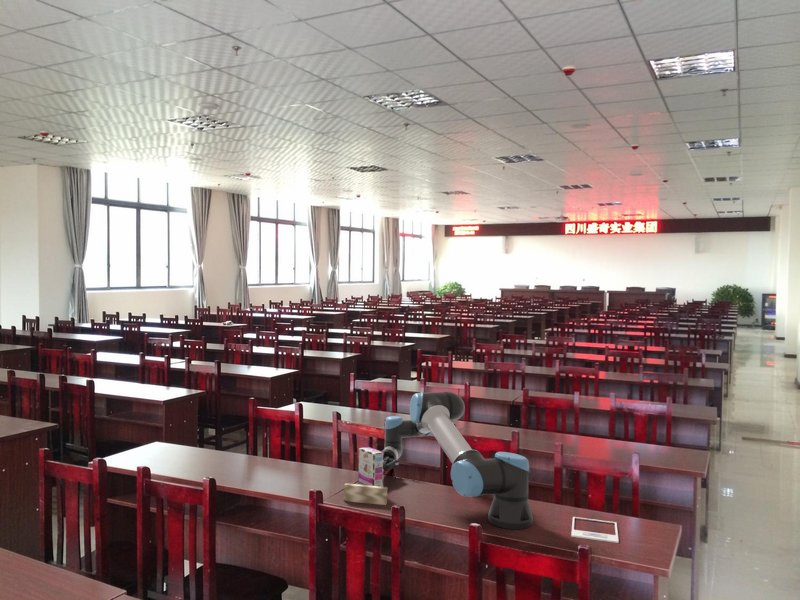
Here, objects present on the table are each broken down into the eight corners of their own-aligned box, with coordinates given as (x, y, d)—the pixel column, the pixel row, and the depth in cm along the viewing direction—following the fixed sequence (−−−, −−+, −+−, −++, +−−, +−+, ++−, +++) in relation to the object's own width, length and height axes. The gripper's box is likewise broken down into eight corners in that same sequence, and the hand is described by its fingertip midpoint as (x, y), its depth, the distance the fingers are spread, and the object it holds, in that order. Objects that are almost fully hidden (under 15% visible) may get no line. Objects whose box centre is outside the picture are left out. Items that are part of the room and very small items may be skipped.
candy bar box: (384, 494, 243) (384, 452, 242) (373, 497, 240) (373, 454, 239) (368, 486, 252) (368, 446, 251) (357, 489, 249) (358, 447, 248)
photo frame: (571, 534, 206) (572, 516, 223) (571, 537, 206) (572, 519, 223) (618, 541, 202) (616, 521, 219) (618, 544, 202) (616, 524, 219)
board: (386, 503, 233) (387, 487, 233) (385, 505, 231) (386, 488, 231) (345, 499, 236) (345, 483, 236) (343, 500, 234) (344, 484, 234)
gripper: (402, 467, 271) (390, 483, 248) (373, 464, 274) (358, 480, 250) (402, 450, 271) (390, 464, 248) (373, 447, 273) (358, 461, 250)
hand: (374, 472), depth 249 cm, fingers closed
